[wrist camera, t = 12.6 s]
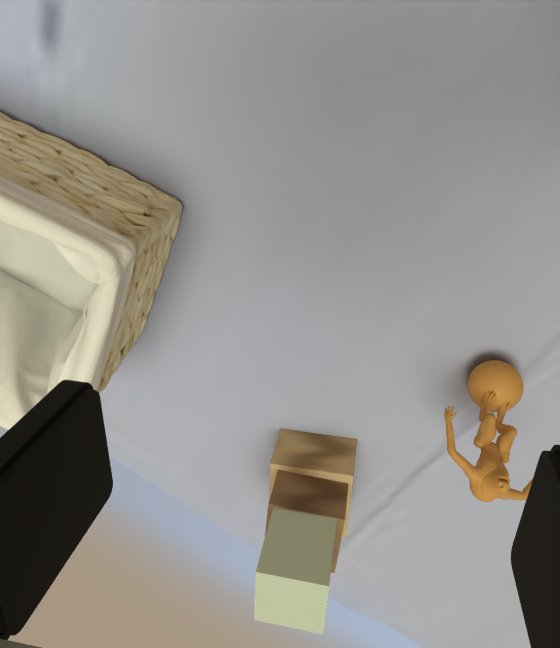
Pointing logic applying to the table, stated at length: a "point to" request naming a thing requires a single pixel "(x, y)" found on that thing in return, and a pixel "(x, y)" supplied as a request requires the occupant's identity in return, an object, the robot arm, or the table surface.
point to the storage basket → (72, 264)
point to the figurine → (490, 430)
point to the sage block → (295, 570)
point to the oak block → (315, 459)
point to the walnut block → (311, 500)
